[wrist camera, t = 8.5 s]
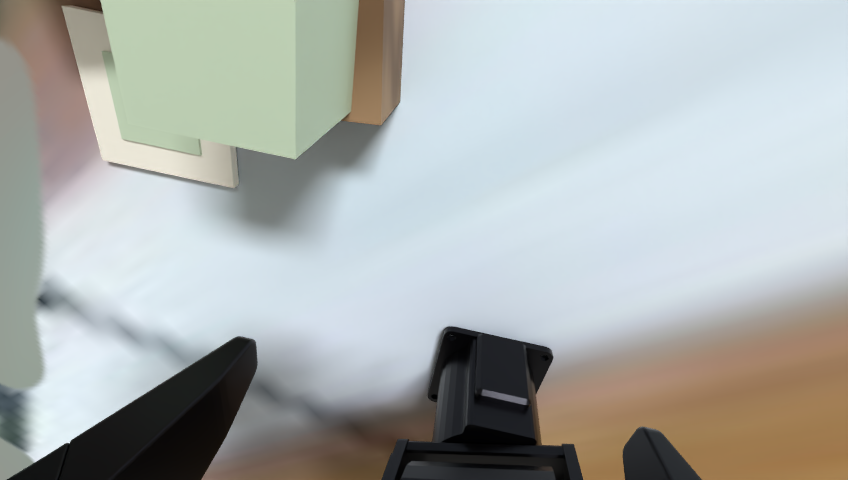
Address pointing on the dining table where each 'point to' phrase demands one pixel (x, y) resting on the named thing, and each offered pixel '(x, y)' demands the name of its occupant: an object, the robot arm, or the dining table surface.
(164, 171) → the swatch tile
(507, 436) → the robot arm
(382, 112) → the walnut block
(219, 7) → the sage block
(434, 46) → the dining table surface
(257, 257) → the dining table surface
